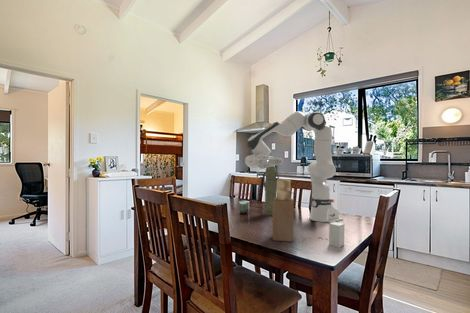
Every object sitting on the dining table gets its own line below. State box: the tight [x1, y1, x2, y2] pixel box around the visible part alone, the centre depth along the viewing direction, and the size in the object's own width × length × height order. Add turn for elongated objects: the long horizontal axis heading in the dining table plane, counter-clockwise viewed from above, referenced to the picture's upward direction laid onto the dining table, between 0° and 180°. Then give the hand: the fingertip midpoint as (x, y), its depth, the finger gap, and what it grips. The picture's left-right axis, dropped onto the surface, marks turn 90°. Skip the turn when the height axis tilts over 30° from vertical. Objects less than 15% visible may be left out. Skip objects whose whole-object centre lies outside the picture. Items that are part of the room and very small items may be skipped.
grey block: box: [328, 221, 345, 248], centre depth 121 cm, size 5×5×10 cm
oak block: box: [276, 178, 292, 200], centre depth 129 cm, size 5×5×10 cm
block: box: [272, 197, 295, 243], centre depth 129 cm, size 10×10×20 cm
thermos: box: [262, 166, 280, 217], centre depth 184 cm, size 9×12×35 cm
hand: (274, 161), depth 145 cm, fingers open, 8 cm apart
